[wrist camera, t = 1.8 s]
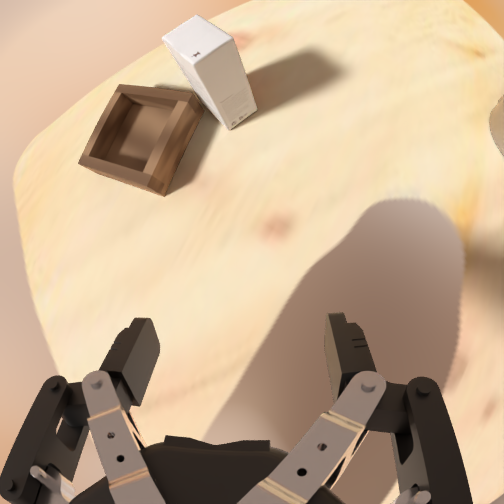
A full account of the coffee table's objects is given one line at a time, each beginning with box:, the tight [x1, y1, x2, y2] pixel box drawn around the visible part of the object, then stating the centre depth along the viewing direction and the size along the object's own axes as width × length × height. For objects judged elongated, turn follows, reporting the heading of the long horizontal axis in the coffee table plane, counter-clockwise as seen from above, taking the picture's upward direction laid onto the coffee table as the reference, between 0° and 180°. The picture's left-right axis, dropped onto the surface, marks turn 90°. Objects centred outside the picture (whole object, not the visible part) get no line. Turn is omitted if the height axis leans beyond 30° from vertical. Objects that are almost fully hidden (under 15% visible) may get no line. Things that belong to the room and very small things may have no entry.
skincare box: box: [162, 15, 257, 130], centre depth 27 cm, size 6×4×12 cm
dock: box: [78, 84, 204, 197], centre depth 32 cm, size 11×13×4 cm
